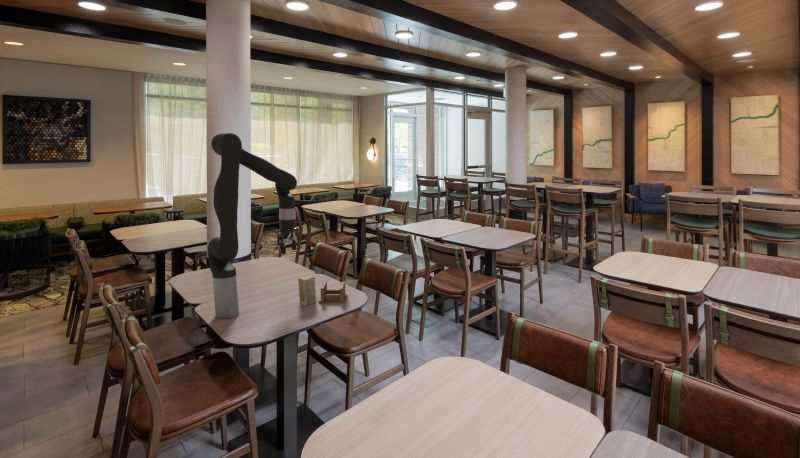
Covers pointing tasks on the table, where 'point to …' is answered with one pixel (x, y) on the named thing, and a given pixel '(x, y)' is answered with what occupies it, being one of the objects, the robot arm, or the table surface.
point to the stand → (333, 294)
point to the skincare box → (307, 290)
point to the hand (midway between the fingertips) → (289, 251)
